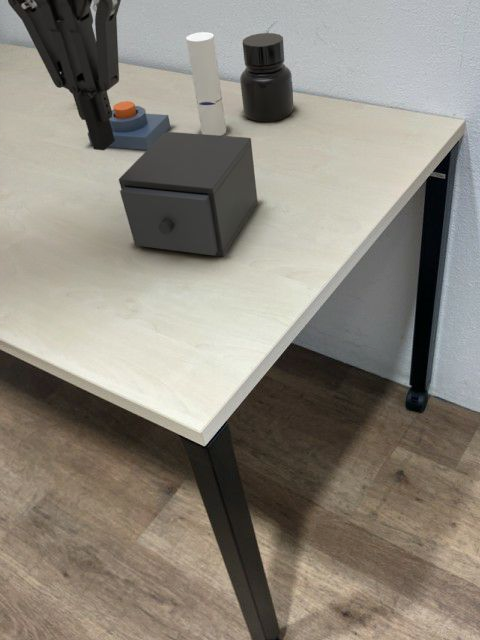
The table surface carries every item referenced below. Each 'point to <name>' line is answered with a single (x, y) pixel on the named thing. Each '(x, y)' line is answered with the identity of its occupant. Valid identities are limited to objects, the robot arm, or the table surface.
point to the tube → (206, 83)
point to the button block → (137, 130)
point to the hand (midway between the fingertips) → (104, 144)
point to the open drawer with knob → (170, 219)
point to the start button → (124, 110)
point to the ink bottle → (265, 78)
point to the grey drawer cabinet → (202, 176)
